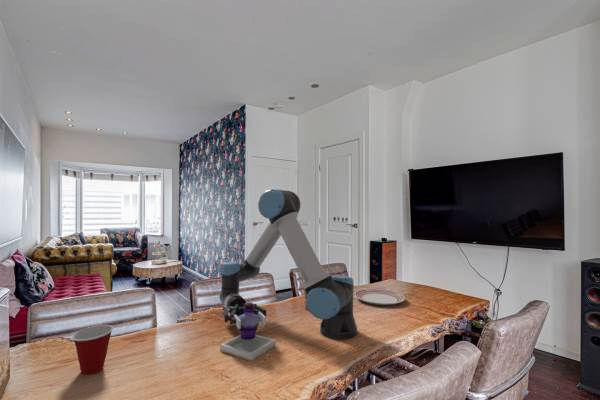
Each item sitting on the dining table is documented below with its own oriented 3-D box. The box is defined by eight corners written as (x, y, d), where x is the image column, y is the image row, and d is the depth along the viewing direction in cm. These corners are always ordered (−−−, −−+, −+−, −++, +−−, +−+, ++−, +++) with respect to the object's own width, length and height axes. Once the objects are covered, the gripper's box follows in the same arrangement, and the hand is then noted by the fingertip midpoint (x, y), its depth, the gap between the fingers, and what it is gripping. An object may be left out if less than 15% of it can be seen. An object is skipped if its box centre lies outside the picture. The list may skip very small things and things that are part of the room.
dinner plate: (411, 309, 166) (412, 302, 166) (359, 307, 166) (359, 301, 166) (396, 294, 193) (396, 289, 193) (351, 293, 193) (351, 288, 193)
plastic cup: (69, 368, 99) (70, 328, 99) (109, 358, 105) (110, 321, 106) (70, 383, 90) (72, 340, 90) (114, 372, 97) (115, 332, 97)
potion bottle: (231, 335, 116) (232, 302, 116) (252, 330, 121) (253, 298, 121) (242, 343, 109) (243, 308, 109) (264, 338, 114) (265, 304, 115)
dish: (275, 346, 117) (275, 339, 117) (250, 361, 105) (251, 354, 105) (246, 337, 124) (246, 331, 124) (220, 350, 112) (220, 344, 112)
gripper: (259, 310, 136) (280, 329, 116) (208, 316, 127) (221, 338, 106) (260, 292, 136) (281, 308, 116) (209, 297, 127) (222, 315, 106)
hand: (252, 322), depth 111 cm, fingers closed on potion bottle, 8 cm apart
